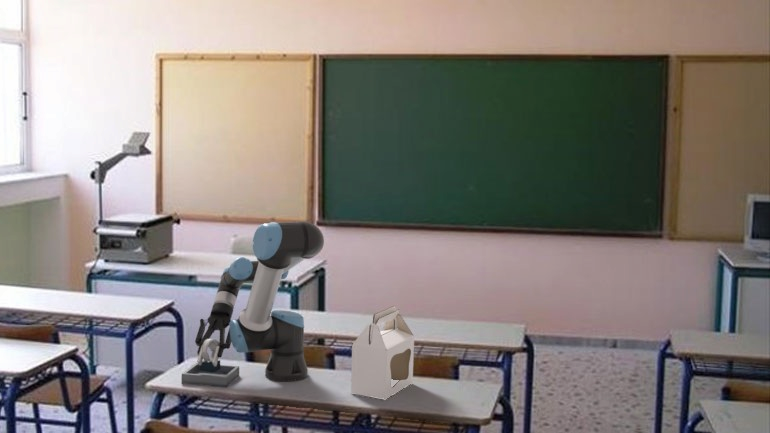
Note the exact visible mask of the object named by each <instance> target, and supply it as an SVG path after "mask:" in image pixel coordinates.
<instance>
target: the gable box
mask: <svg viewBox="0 0 770 433" xmlns="http://www.w3.org/2000/svg"><path fill="white" fill-rule="evenodd" d="M399 312H400V309H397V308H396V306H395V305H393V306H390V307H387V308H385V309H383V310H380V311H378V312H375V313H374V314H373V316H372V318H373V320H372V322H370V323H367V324H366V326H365V327H364V328H363V330H362V331H361V332H360V334H359V335H358V336H357V338H356V339H355V341H354V342H353V343H352V345H351V371H350V372H351V373H350V374H351V376H350V377H351V378H350V394H351V393H355V394H361V395H367V396H373V397H378V398H384V399H386V398H388V397H389V396H391V395H392V394H394V393H396V392H397V391H399V390H401V389H402V388H404V387H405V386H407V385H409V384H410V383H412V382H413V379H414V354H415V353H414V352H415V335H414V334H413V333H412V330H411V329H410V328H409V326H408V325H407V323H406V321H405V320H404V318H403V316H402V315H401V314H399ZM381 325H384V326H383V328H381V330H380V328H379V326H381ZM391 379H393V380H399V381H398V382H397V383H396V384H395V385H394V386H393V387H391Z"/></svg>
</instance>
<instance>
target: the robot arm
mask: <svg viewBox="0 0 770 433" xmlns="http://www.w3.org/2000/svg"><path fill="white" fill-rule="evenodd" d="M252 242H253V243H252V251H253V254H254V256H255V257H256V259H257V260H250V259H249V258H246V257H243V256H242V257H241V256H240V257H237V258H235V260H234V261H233V262H231V263H230V265H229V267H226V268H224V270H223V272H222V274H221V277H220V281H219V284H218V287H217V292H216V294H215V298H214V301H213V304H212V307H211V311H210V315H209V317H207V318H206V319H204V318H200V319H199V322H200V323H199V327H198V330H197V334H196V338H195V341H194V342H195V345H196V346H197V347H198V348H197V355H198V357H197V361H196V363H198V364H199V365H201V364H202V361H203V360H204V359H203V357H202V353H201V352H202V345H203V343H204V341H205V340H206V339H211V336H212V335H213V334H214V333H215V331H219V343H220V345H219V346H220V347H219V346H217V348H216V351H215V355H214V358H213V362H212V363H213V365H214V366H215V367H216V366H217V362H218V360H219V358H221V357H223V355H224V354H223V352H224V350H225V349H227V350H228V349H230V348H231V344H232V347H233V348H234V350H235V351H236V352H238V353H252V352H260V351H267V350H268V351H269V350H270V356H269V358H268V361H267V364H266V367H265V371H264V372H265V373H264V376H265V377H266V378H267V379H269V380H272V381H277V382H297V381H302V380H304V379H306V378H307V377H308V375H309V373H308V366H307V363H306V359H305V357H304V339H305V334H304V333H305V332H304V331H305V323H304V322H305V321H304V320H305V319H304V317H303V315H302V314H301V313H298V312H296V311H291V310H283V309H280V310H279V309H278V310H277V309H276V310H273V307H274V303H275V300H276V298H277V294H278V290H279V288H280V283H281V280H285V279H286V278H287V277H288V275H289V271H290V270H291V269H292V268H294V267H296V266H297V265H298V264H300V263H302V262H303V261H304V260H309V259H313V258H314V257H316V256H317V255H319V253H320V252H321V251H322V250H323V248H324V243H325V238H324V235H323V232H322V231H321V229H320V228H319V227H318V226H317V225H315V224H314V223H311V222H309V221H288V222H286V221H285V222H275V221H273V222H272V221H271V222H269V223H263V224H260V225H259V226H258V227H257V228H256V229H255V231H254V234H253V239H252ZM245 283H252V285H251V288H250V292H249V296H248V300H247V302H246V307H245V308H244V309H242V310H241V311H240V313H239V315H238V318H237V319H232V317H233V313H234V309H235V306H236V302H237V299H238V295H239V292H240V289H241V288H242V286H243V285H244V284H245ZM208 324H209V325H208ZM206 326H208V328H207V330H206ZM228 326H229V328H228ZM226 328H228V332H227V335H226ZM205 330H206V331H205ZM225 336H226V337H225ZM203 350H204V349H203Z"/></svg>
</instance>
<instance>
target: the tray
mask: <svg viewBox="0 0 770 433" xmlns="http://www.w3.org/2000/svg"><path fill="white" fill-rule="evenodd" d="M239 377H240V366H239V365H229V364H228V365H226V364H220V370H217V371H215V372H208V371H200V365H199V364H198V362H196V363H194V364H192V365H191V366H190V367H189V368H187V369H186V370H184V372H182V373H181V384H182V385H192V386H193V385H194V386H204V387H214V388H215V387H216V388H227V387H229V386H230V385H231V384H232V383H233V382H234V381H235V380H236V379H237V378H239Z"/></svg>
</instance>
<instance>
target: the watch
mask: <svg viewBox="0 0 770 433" xmlns="http://www.w3.org/2000/svg"><path fill="white" fill-rule="evenodd" d="M219 345H220V340H217V339H216V338H211V337H210V338H209V339H206V340H205V341H204V343H203V345H202V352H201V353H202V357H203V361H202V364H201V365H200V371H208V372H215V371H217V370H220V365H221V360H219V359H218V362H217V366H216V367H215V366H214V365H213V363H212V362H213V358H214V355H215V351H216V348H217V346H219ZM219 347H220V346H219ZM208 348H209V350H210V352H211V355H210V356H209V352H208ZM203 349H204V350H203Z"/></svg>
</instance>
